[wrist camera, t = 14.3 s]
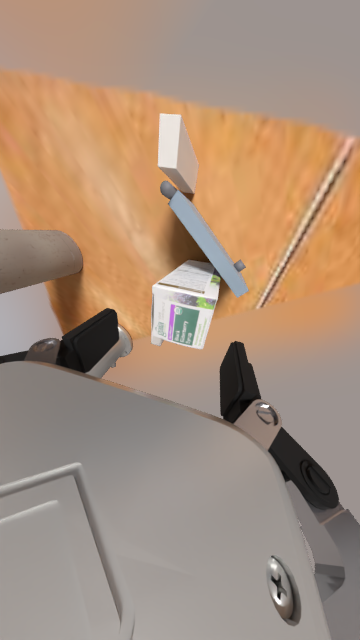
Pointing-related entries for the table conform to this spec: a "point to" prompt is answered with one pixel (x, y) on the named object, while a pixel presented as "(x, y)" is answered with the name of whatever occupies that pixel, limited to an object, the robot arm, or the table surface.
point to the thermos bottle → (36, 257)
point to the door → (205, 239)
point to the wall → (176, 160)
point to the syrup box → (185, 303)
